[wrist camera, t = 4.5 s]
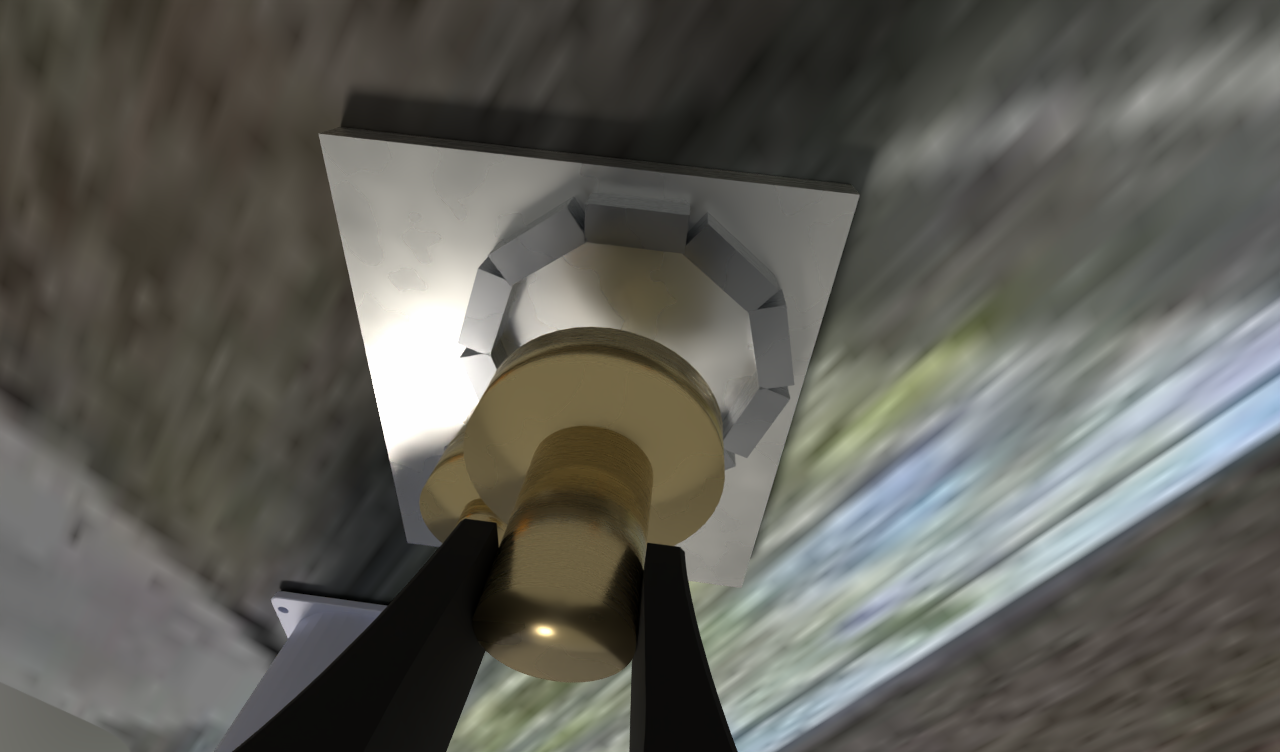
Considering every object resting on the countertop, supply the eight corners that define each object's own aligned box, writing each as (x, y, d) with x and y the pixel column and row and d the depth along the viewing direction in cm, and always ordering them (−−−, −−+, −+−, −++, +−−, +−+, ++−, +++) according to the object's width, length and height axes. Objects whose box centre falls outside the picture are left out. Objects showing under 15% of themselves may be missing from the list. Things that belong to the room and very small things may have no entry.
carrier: (740, 567, 24) (746, 658, 20) (417, 524, 24) (372, 606, 21) (851, 184, 15) (893, 234, 12) (339, 126, 15) (239, 159, 12)
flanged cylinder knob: (668, 539, 16) (655, 752, 12) (465, 473, 15) (366, 672, 11) (766, 381, 13) (800, 593, 8) (513, 288, 12) (397, 463, 7)
